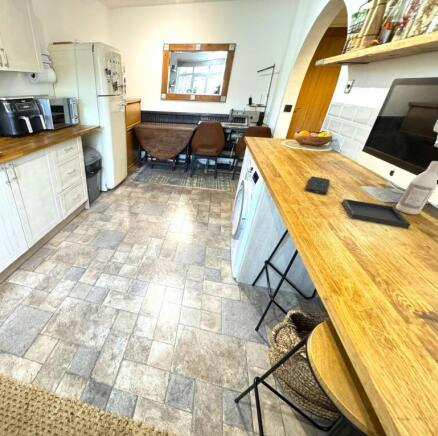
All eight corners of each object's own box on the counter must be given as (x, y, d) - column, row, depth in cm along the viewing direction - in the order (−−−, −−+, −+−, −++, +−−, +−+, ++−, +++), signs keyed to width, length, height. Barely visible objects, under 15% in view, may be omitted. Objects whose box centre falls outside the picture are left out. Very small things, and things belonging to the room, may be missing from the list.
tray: (391, 210, 96) (393, 206, 95) (407, 228, 84) (411, 223, 83) (341, 202, 101) (343, 198, 100) (351, 218, 90) (353, 213, 89)
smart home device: (306, 187, 111) (311, 175, 125) (305, 190, 112) (310, 178, 126) (327, 191, 107) (330, 179, 121) (326, 195, 108) (328, 182, 122)
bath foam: (403, 206, 99) (432, 158, 89) (423, 214, 94) (457, 164, 84) (390, 207, 98) (419, 159, 88) (410, 216, 92) (443, 165, 82)
